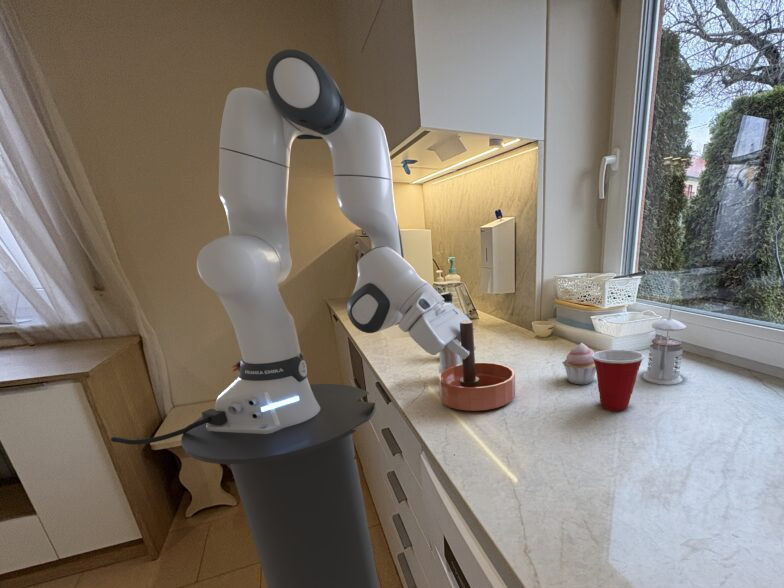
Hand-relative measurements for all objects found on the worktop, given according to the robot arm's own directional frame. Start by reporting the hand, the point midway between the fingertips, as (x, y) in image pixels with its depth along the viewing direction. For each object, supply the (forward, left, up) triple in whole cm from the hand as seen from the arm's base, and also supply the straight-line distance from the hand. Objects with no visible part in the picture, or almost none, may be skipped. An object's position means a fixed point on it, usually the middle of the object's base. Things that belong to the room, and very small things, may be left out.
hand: (470, 353), depth 90 cm
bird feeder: (+48, +10, -12) cm, 50 cm away
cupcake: (+27, +11, -12) cm, 31 cm away
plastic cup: (+31, -5, -12) cm, 34 cm away
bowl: (+1, +2, -11) cm, 12 cm away
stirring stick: (-1, 0, -9) cm, 9 cm away
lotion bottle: (-8, +33, -12) cm, 36 cm away
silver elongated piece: (-6, +15, -12) cm, 20 cm away
